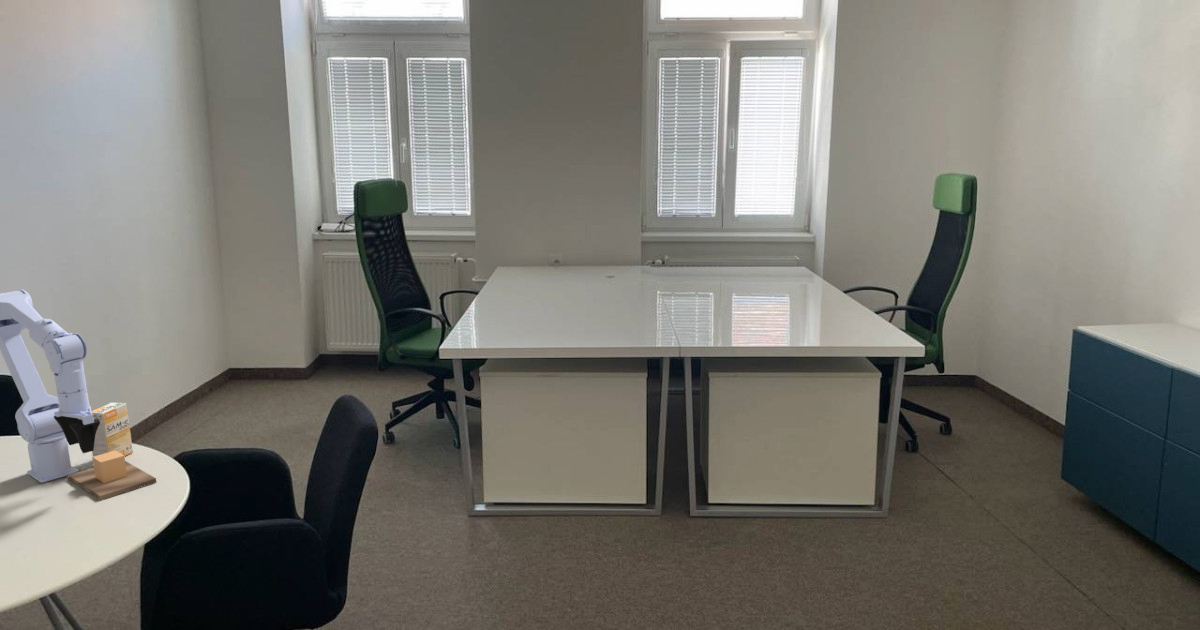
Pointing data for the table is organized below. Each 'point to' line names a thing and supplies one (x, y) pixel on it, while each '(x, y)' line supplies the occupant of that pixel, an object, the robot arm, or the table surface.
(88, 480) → the walnut board
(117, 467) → the orange cube
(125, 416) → the supplement box
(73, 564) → the table surface
